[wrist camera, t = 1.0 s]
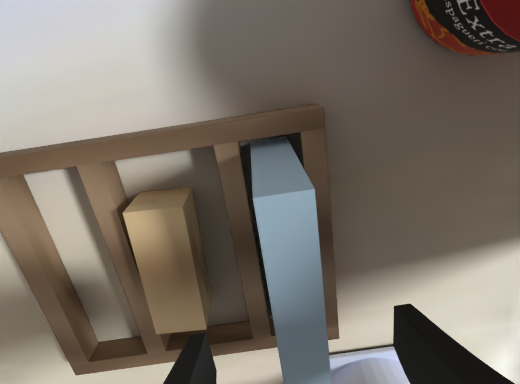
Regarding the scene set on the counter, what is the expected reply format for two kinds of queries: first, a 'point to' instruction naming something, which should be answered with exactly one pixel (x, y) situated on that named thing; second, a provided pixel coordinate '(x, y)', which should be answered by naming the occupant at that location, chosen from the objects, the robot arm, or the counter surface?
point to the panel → (291, 260)
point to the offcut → (170, 259)
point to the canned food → (471, 24)
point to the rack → (119, 245)
